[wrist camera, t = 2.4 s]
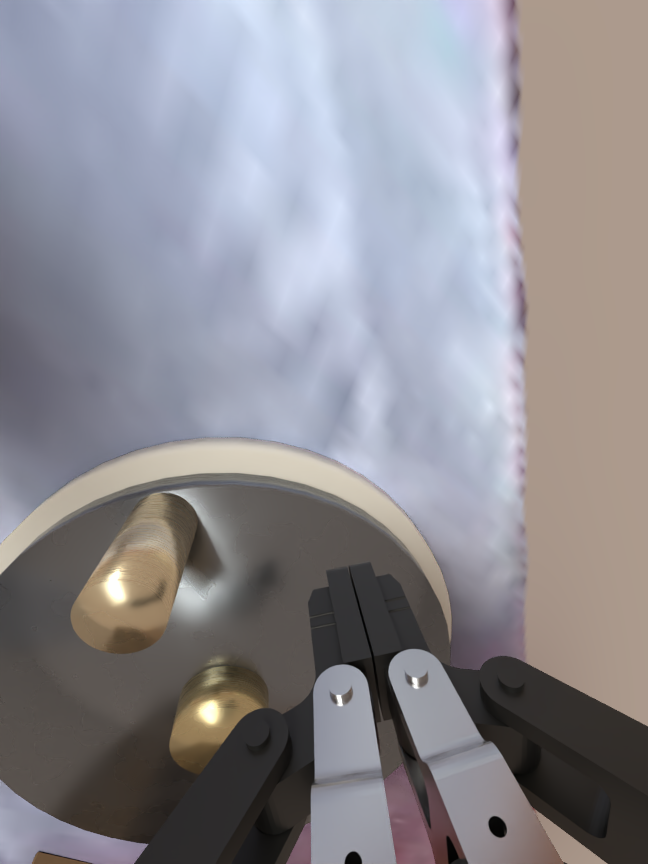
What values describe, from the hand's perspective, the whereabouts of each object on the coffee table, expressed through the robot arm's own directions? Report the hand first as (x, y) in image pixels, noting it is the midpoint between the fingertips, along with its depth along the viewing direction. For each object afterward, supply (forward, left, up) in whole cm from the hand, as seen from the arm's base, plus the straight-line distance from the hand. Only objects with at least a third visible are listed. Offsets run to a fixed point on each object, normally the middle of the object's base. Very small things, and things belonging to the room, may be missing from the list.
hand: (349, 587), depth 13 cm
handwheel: (+12, -8, -8) cm, 16 cm away
